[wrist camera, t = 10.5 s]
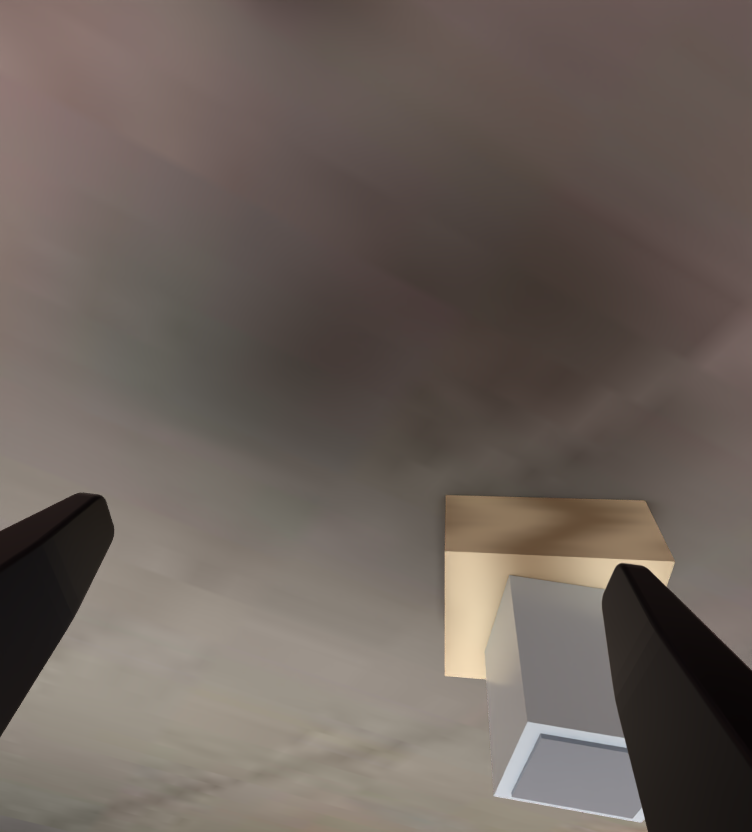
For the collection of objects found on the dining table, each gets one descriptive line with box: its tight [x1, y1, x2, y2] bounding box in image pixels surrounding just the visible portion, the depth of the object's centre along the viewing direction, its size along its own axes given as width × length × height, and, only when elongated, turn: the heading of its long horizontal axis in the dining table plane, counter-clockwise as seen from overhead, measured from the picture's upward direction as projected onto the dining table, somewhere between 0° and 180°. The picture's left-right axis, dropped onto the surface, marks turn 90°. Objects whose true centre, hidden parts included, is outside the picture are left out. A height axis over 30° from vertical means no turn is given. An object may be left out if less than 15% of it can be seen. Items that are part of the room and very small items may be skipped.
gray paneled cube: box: [485, 575, 645, 823], centre depth 20 cm, size 6×6×6 cm
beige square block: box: [445, 495, 675, 679], centre depth 24 cm, size 9×9×4 cm
